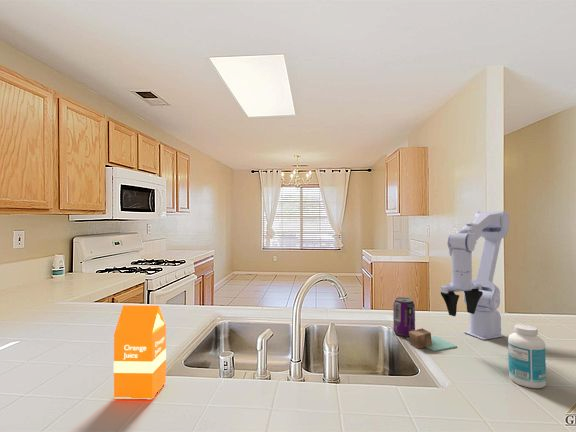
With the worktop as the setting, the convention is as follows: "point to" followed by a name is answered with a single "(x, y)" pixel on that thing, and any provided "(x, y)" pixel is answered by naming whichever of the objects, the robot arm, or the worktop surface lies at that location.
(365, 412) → the worktop surface
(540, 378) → the pill bottle
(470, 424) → the worktop surface
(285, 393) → the worktop surface
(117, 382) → the orange juice
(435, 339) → the teal coaster
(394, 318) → the beverage can
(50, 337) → the worktop surface
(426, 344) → the walnut block
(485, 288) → the robot arm
